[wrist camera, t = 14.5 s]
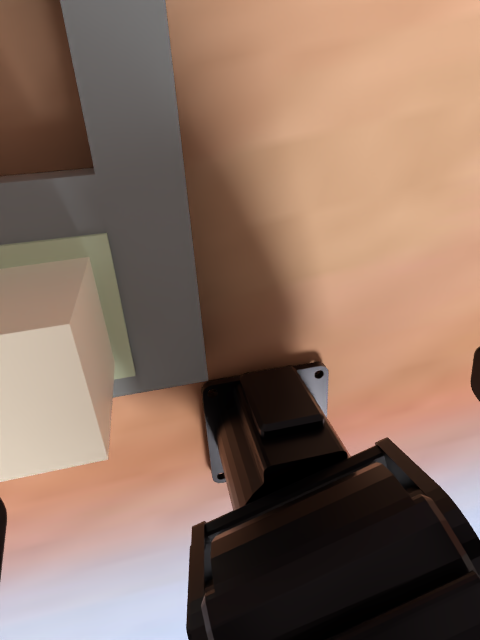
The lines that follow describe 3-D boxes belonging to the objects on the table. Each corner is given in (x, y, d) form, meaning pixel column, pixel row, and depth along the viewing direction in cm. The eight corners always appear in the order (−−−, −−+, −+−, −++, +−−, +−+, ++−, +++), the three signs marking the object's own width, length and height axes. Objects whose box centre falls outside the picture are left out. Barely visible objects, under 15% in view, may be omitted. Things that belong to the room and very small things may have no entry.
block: (115, 362, 18) (108, 459, 13) (-4, 383, 17) (-58, 494, 12) (89, 256, 16) (69, 324, 11) (-47, 275, 15) (-133, 355, 10)
